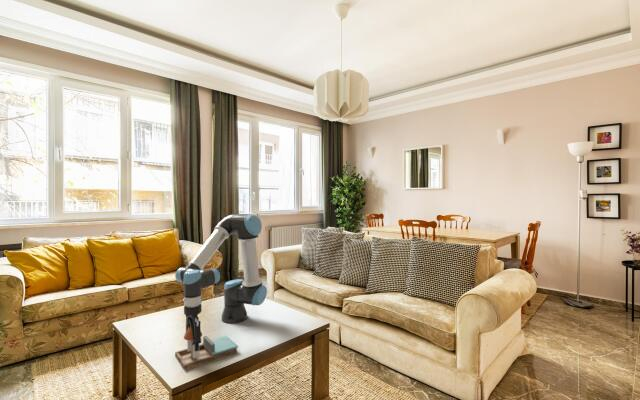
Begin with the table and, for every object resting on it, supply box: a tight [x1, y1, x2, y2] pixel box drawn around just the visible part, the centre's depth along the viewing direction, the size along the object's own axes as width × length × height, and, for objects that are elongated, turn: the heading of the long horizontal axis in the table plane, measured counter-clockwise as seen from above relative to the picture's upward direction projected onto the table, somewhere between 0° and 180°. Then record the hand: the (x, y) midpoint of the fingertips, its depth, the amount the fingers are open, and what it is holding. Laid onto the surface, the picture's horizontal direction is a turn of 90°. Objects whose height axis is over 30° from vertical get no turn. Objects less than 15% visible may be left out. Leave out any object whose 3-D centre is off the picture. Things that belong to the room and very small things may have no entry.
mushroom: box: [183, 327, 203, 358], centre depth 150 cm, size 8×8×15 cm
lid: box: [202, 335, 239, 355], centre depth 158 cm, size 14×12×4 cm
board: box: [174, 343, 238, 371], centre depth 154 cm, size 15×24×2 cm, turn 128°
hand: (193, 353), depth 150 cm, fingers closed on mushroom, 7 cm apart
